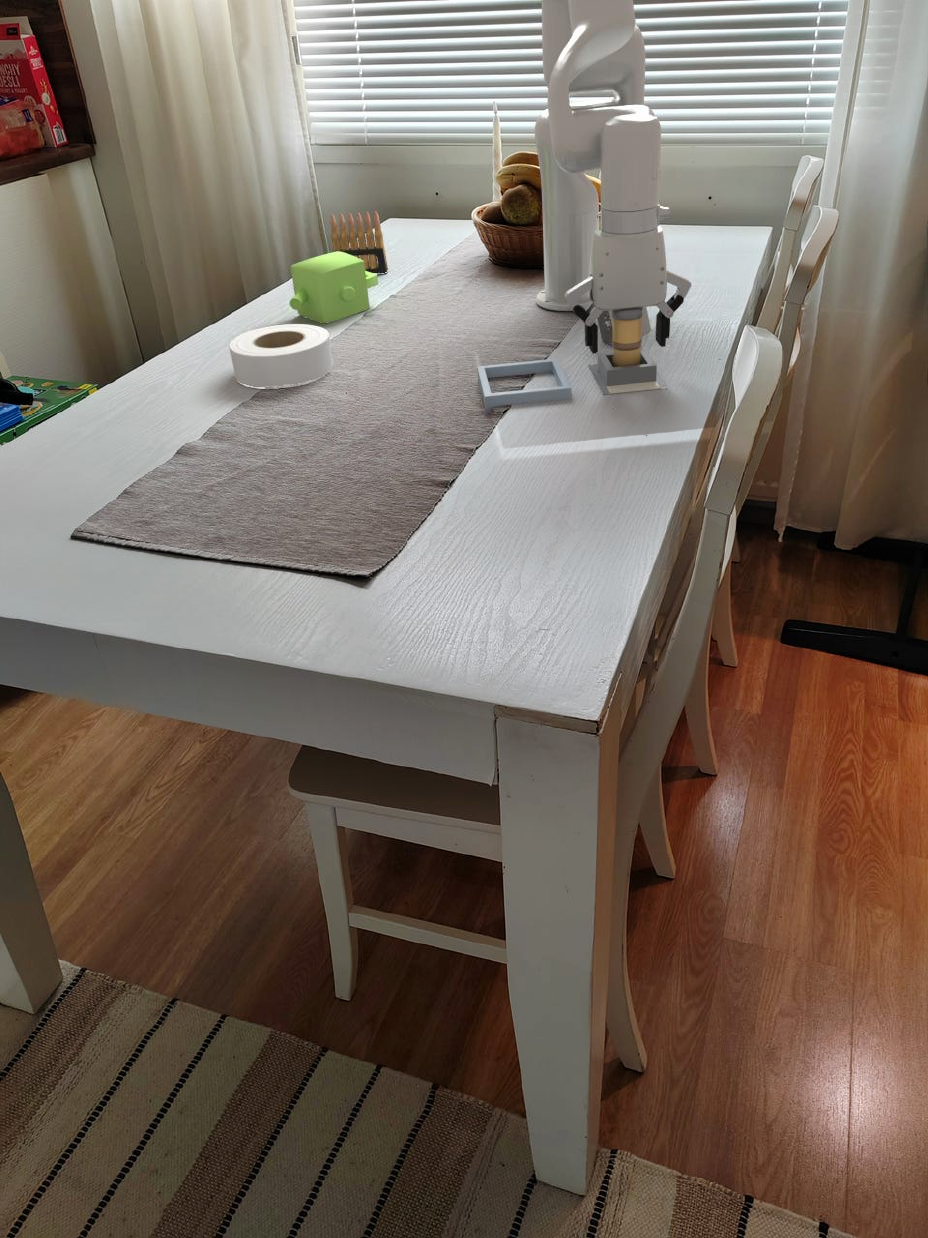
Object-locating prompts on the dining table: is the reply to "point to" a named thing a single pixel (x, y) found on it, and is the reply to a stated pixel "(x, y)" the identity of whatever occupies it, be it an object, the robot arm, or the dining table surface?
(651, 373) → the grey square socket holder
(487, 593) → the dining table surface
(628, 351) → the fuse
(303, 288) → the gearbox
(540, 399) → the tray
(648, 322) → the electrical switch
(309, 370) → the roll of tape
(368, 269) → the ammunition clip
